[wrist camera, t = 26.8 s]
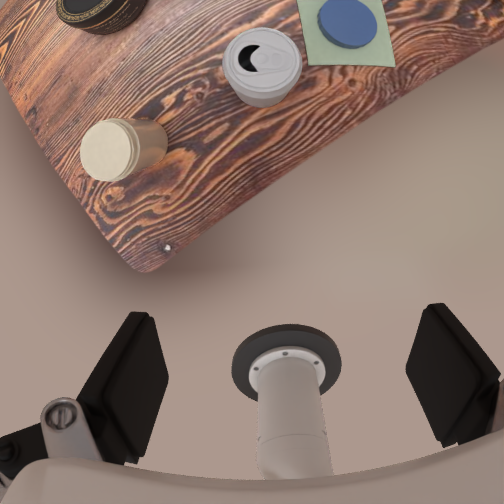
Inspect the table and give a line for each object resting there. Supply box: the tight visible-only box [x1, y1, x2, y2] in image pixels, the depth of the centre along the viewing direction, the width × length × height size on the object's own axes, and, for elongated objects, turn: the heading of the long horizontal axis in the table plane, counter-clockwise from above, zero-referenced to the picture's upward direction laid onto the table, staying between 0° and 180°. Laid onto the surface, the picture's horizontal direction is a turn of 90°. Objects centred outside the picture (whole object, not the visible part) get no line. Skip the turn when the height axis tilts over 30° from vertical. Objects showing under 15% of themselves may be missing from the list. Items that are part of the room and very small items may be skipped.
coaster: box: [296, 0, 396, 67], centre depth 26 cm, size 11×11×1 cm
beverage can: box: [223, 28, 302, 108], centre depth 25 cm, size 6×6×12 cm
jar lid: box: [317, 0, 377, 49], centre depth 25 cm, size 7×7×2 cm
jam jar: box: [80, 118, 168, 182], centre depth 28 cm, size 6×6×10 cm
